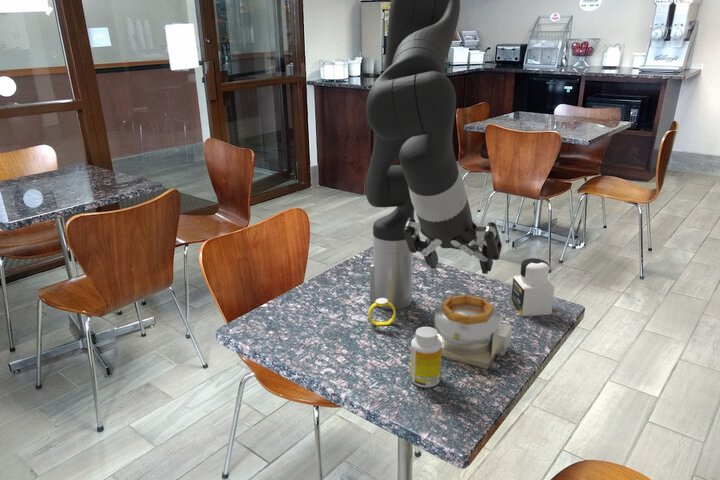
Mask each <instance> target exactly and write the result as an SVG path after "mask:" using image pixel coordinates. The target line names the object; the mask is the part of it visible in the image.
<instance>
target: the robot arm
mask: <svg viewBox="0 0 720 480" xmlns="http://www.w3.org/2000/svg"><path fill="white" fill-rule="evenodd" d="M460 10H461V1H460V0H390V3H389V11H388V21H387V22H388V23H387V32H386V33H387V36H386V48H385V49H386V50H385V62H384V70H383V72H382V73H381V74H380V75H379V76H378V78H377V79H376V80H375V81H374V82H373V84H372V86H371V87H370V90H369V93H368V95H367V99H366V106H365V110H366V111H365V113H366V119H367V122H368V125H369V127H370V129H371V130H372V131H373V133H374V142H373V148H372V153H371V157H370V161H369V166H368V169H367V174H366V178H365V179H366V180H365V196H366V200H367V202H368V204H370V206H372V207H374V208H395V209H394V210H393V211H392V212H390V213H389V214H386V215H384V216H382V217H380V218H378V219H376V220H375V221H374V222H373V224H372V225H373V226H372V254H373V255H372V259H373V260H372V263H371V264H370V265H369V303H372V304H373V303H375V302H376V299H379V298H386V299H387V300H388V302H390V303H392V304H393V306H394V307H395V310H402V309H405V308H408V307H409V306H410V305H411V304H412V303H413V300H412V298H413V256H414V255H413V254H417V253H420V254H421V256H423V258H424V260H425V261H424V262H425V263H426V265H428V266H429V267H430V269H432V270H433V269H434V270H436V269H437V266H438V263H439V257H438V253H437V250H436V249H437V248H438V247H440V248H441V249H453V250H459V251H460V250H461V251H463V253H465V254H467V255H469V256H470V257H472V256H474V257H476V258H477V259H478V260H479V264H480V269H481V274H483V275H488V274H489V272H491V271H492V268H493V264H494V262H493V261H499V260H500V256H501V252H502V249H503V243H502V240H501V237H500V233H499V231H498V227H497V225H496V223H495V222H493V221H489V222H487V226H477V224H476V223H475V222H474V220H473V216H472V212H471V208H470V204H469V200H468V195H467V191H466V187H465V184H464V180H463V178H462V175H461V173H460V170H459V167H458V163H457V160H456V159H457V158H456V155H455V150H454V144H453V134H454V133H453V131H454V124H455V118H456V108H457V97H456V96H457V95H456V90H455V87H454V84H453V82H452V81H451V80H450V78H449V77H447V75H445V67H446V66H445V65H446V64H445V63H446V59H447V56H448V54H449V51H450V49H451V47H452V43H453V41H454V37H455V35H456V31H457V28H458V27H457V26H458V23H459V17H460V12H461V11H460ZM398 159H399V163H400V164H398V165H397V164H396V165H395V164H394V162H396V160H398ZM393 164H394V165H393ZM415 214H416V217H417V220H418V222H416V219H415ZM420 233H421V234H422V235H423V236H424V237H425V238H426V239H425V240H421V235H420ZM469 244H470V245H469ZM376 307H378V308H381V309H385V310H389V311H390V310H391V311H393V309H392V307H391V306H389V305H386V306H378V305H377V306H376Z"/></svg>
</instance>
